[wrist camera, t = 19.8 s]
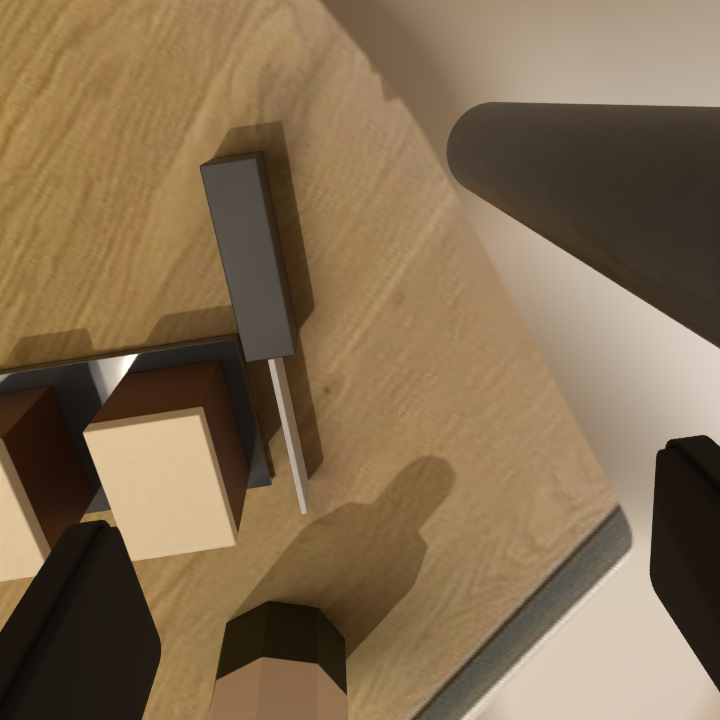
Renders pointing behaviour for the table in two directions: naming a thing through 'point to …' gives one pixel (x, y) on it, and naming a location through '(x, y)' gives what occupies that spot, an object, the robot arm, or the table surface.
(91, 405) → the board
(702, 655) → the robot arm
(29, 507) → the cake slice
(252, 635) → the wine bottle
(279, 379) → the knife
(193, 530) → the cake
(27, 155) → the table surface
